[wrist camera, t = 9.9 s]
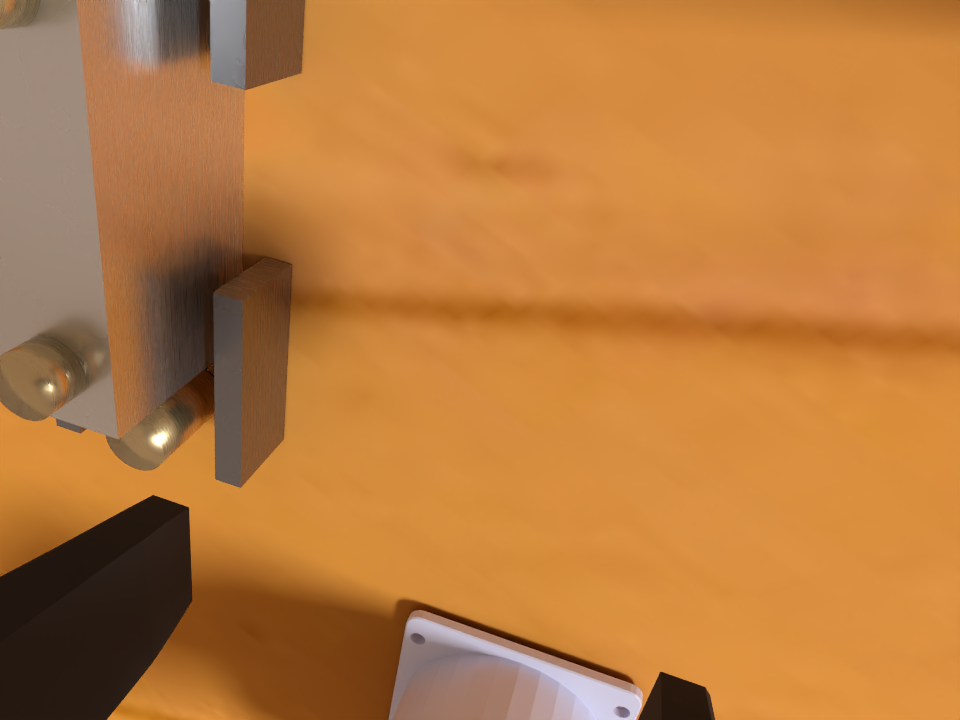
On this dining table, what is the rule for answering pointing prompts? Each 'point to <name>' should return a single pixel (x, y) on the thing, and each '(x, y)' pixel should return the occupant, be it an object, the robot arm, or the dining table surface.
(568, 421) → the dining table surface
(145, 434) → the end link
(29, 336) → the block with brass knobs
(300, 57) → the end link
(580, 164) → the dining table surface
